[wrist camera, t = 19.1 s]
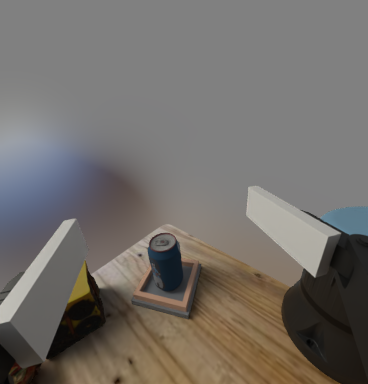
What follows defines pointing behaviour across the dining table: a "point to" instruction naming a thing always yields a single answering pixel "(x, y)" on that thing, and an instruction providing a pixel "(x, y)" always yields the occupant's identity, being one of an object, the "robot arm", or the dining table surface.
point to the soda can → (165, 261)
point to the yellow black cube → (79, 314)
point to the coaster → (169, 300)
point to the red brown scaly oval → (23, 373)
